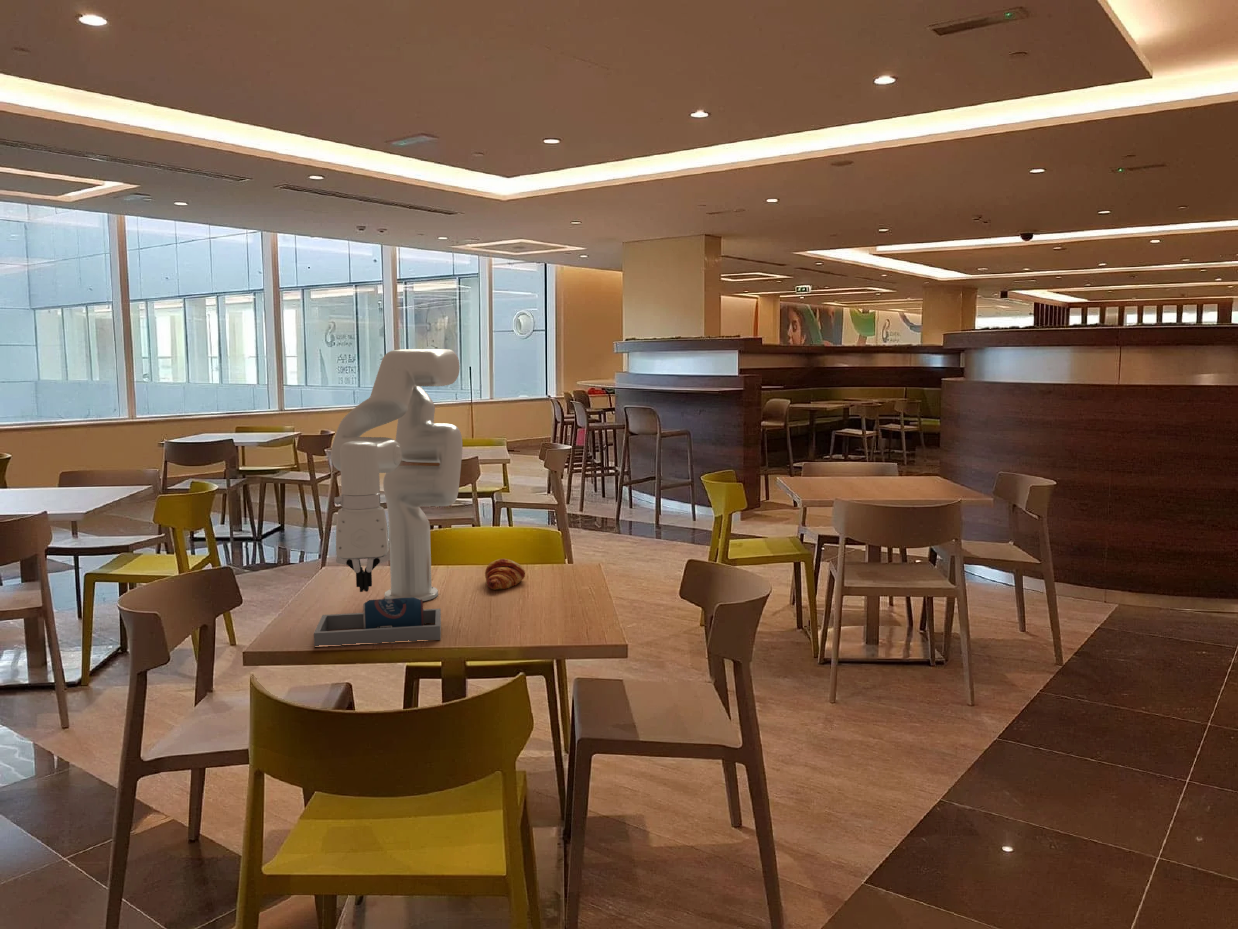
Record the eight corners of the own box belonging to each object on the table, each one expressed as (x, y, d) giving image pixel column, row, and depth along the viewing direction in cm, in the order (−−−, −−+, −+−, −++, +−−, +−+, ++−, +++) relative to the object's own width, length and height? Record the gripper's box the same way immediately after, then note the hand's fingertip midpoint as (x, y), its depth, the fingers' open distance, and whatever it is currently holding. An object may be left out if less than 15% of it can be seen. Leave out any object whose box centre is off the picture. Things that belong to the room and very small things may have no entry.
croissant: (505, 585, 239) (491, 559, 239) (537, 569, 237) (523, 542, 237) (483, 605, 218) (467, 576, 218) (518, 587, 216) (503, 558, 216)
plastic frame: (323, 628, 189) (322, 614, 189) (440, 622, 194) (440, 608, 193) (314, 648, 176) (313, 633, 176) (440, 640, 181) (440, 626, 181)
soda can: (362, 593, 185) (421, 589, 189) (364, 614, 190) (421, 610, 193) (363, 620, 181) (423, 616, 184) (364, 641, 185) (423, 636, 188)
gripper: (320, 506, 176) (324, 597, 178) (398, 503, 179) (401, 593, 181) (325, 500, 183) (328, 587, 186) (399, 498, 186) (402, 584, 188)
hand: (364, 590), depth 183 cm, fingers closed
